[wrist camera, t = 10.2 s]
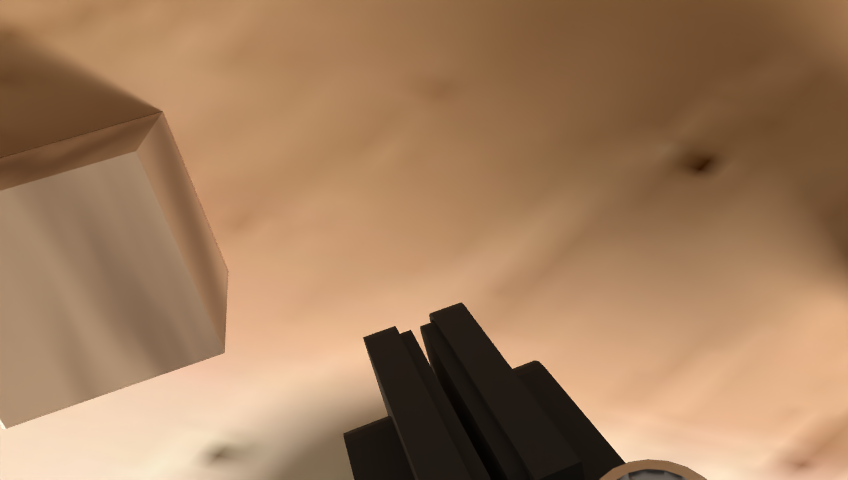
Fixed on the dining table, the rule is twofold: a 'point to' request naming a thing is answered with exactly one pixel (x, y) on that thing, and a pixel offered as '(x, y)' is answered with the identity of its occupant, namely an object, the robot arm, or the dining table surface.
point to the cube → (102, 269)
